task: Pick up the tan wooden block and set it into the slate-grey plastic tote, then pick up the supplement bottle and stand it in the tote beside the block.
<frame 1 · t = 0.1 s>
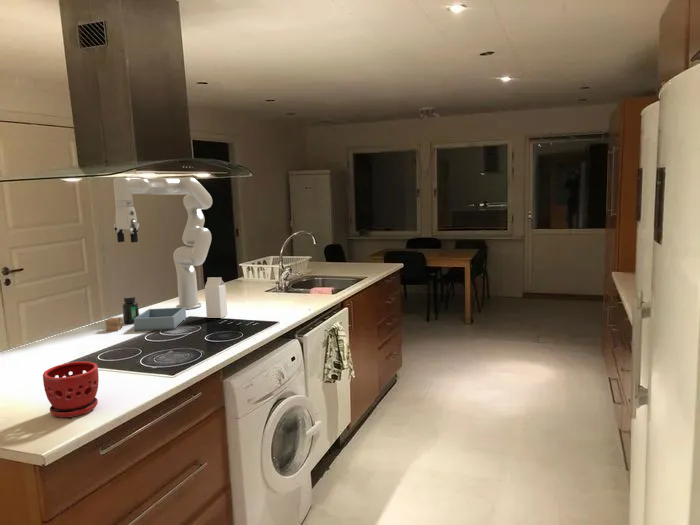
hand: (127, 242, 248), 37 cm above the worktop, tool pointing down, fingers open, 9 cm apart
tan wooden block: (114, 330, 237), on the worktop
tote: (161, 324, 243), on the worktop
milk carton: (217, 317, 254), on the worktop
plant pot: (75, 412, 145), on the worktop
supplement bottle: (131, 322, 250), on the worktop
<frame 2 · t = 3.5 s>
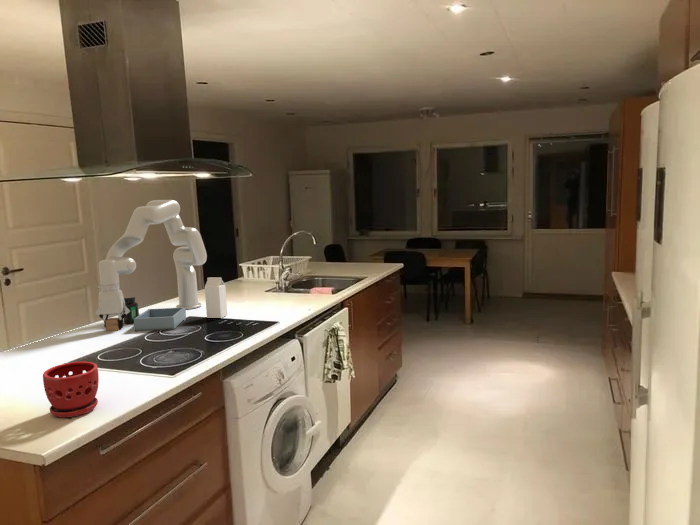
hand: (114, 328, 237), 1 cm above the worktop, tool pointing down, fingers closed on tan wooden block, 5 cm apart
tan wooden block: (114, 329, 237), on the worktop, touching gripper
everything else where it was.
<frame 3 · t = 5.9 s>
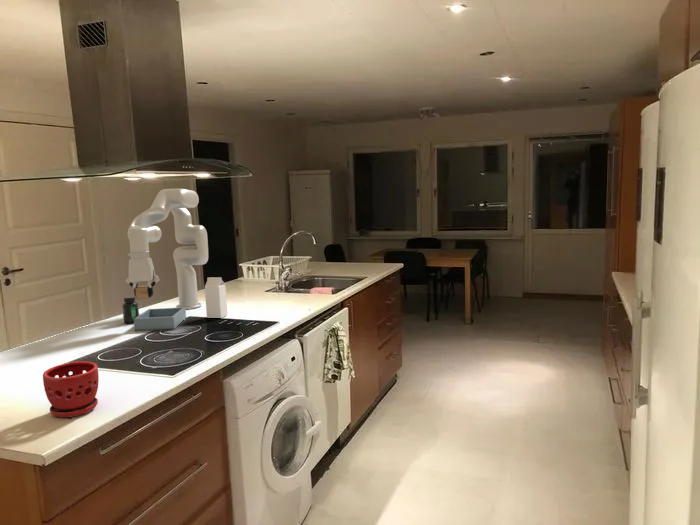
hand: (144, 296, 236), 14 cm above the worktop, tool pointing down, fingers closed on tan wooden block, 4 cm apart
tan wooden block: (144, 298, 236), point 13 cm above the worktop, touching gripper
everything else where it was.
when the fingers open (4 cm above the worktop, at t = 8.6 s): tan wooden block drops 3 cm, resting on tote.
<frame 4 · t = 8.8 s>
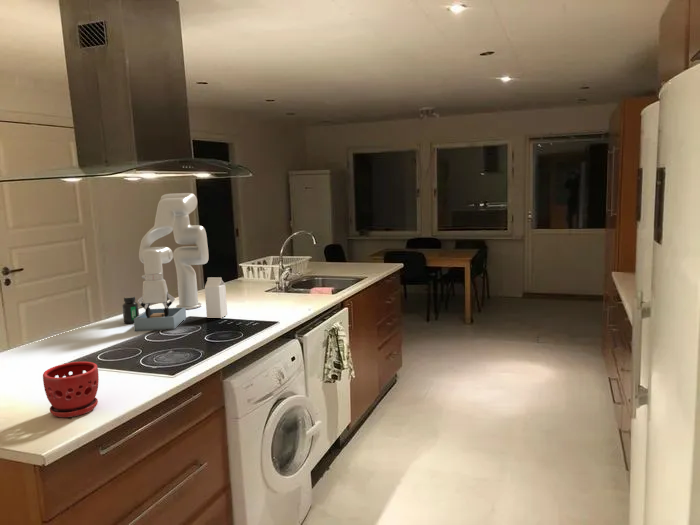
hand: (157, 316, 238), 5 cm above the worktop, tool pointing down, fingers open, 7 cm apart
tan wooden block: (158, 325, 238), point 1 cm above the worktop, touching tote
everything else where it was.
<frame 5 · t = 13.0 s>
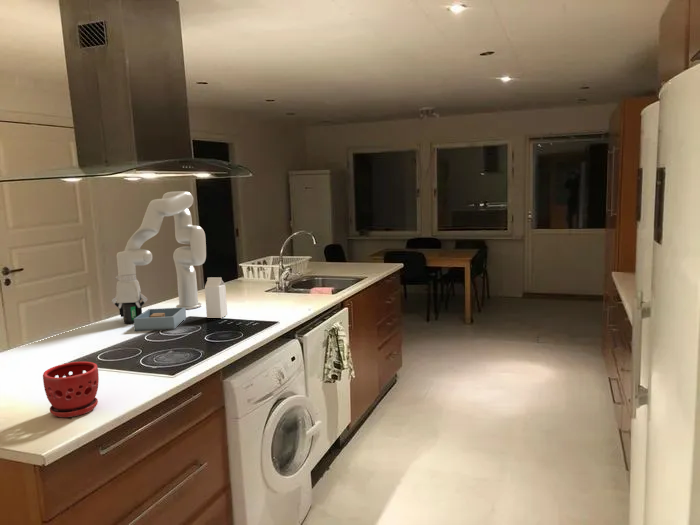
hand: (131, 315, 250), 3 cm above the worktop, tool pointing down, fingers closed on supplement bottle, 6 cm apart
supplement bottle: (131, 322, 250), on the worktop, touching gripper
everything else where it was.
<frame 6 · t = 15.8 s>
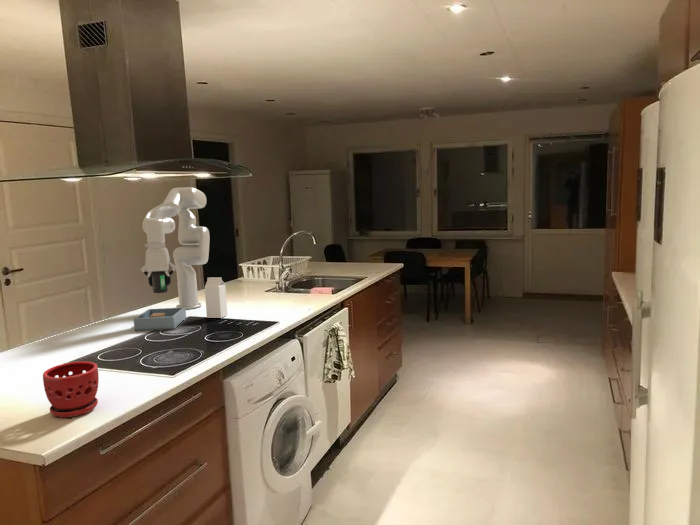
hand: (160, 284, 245), 18 cm above the worktop, tool pointing down, fingers closed on supplement bottle, 6 cm apart
supplement bottle: (160, 292, 245), point 14 cm above the worktop, touching gripper
everything else where it was.
when the fingers open (5 cm above the worktop, at t = 18.7 s): supplement bottle drops 1 cm, resting on tote.
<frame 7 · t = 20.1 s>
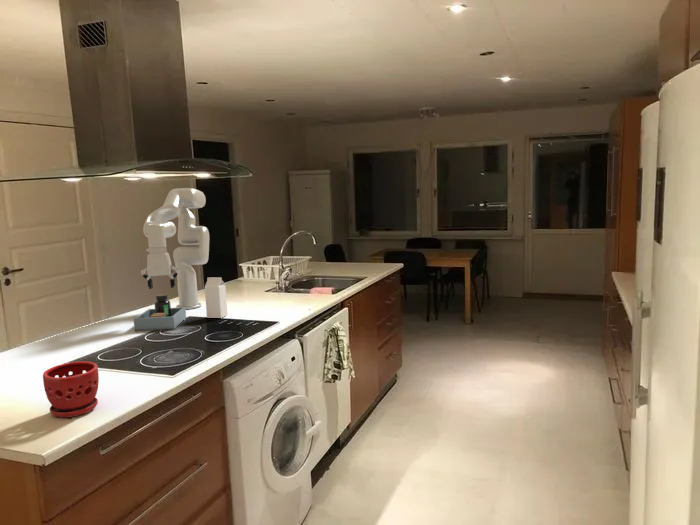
hand: (161, 287, 245), 16 cm above the worktop, tool pointing down, fingers open, 9 cm apart
supplement bottle: (164, 321, 247), point 1 cm above the worktop, touching tote
everything else where it was.
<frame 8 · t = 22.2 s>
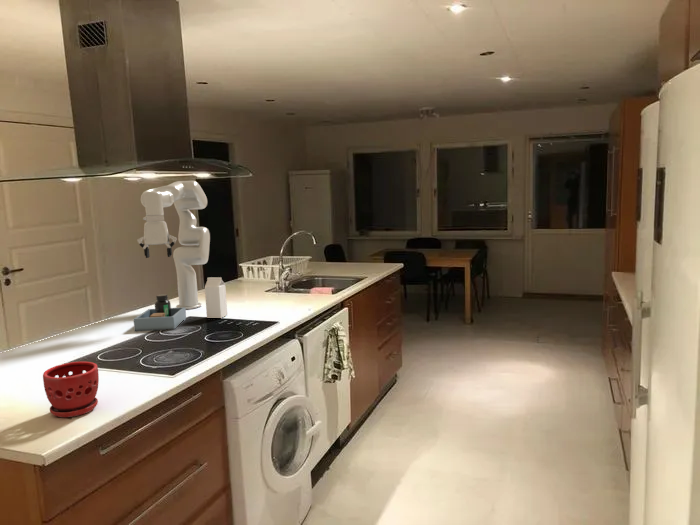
hand: (158, 257, 243), 30 cm above the worktop, tool pointing down, fingers open, 9 cm apart
nothing on the worktop moved.
at the end: tan wooden block inside the target area on the tote (4.5 cm from its centre), point 0.8 cm above the tote's base; supplement bottle inside the target area on the tote (4.2 cm from its centre), point 0.6 cm above the tote's base; supplement bottle tilted 0° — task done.
